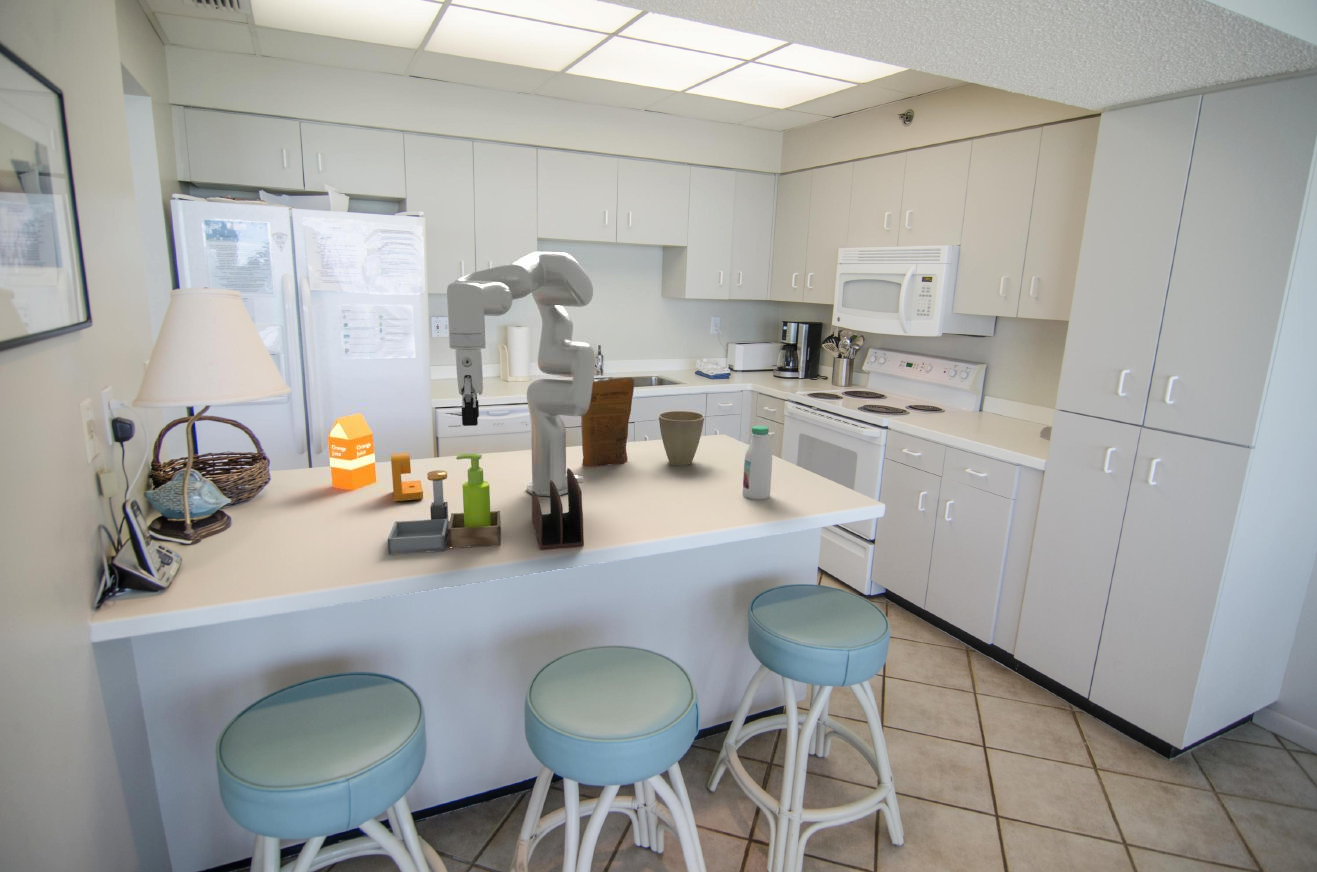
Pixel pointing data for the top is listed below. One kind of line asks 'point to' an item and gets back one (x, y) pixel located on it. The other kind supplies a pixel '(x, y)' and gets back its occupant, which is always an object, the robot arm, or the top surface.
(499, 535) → the wooden box
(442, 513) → the plunger collar
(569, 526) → the letter holder
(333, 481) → the orange juice
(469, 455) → the soap dispenser
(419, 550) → the tray
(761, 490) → the milk bottle
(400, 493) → the bracket
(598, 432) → the pancake mix bag
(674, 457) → the plant pot
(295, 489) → the top surface
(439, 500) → the plunger
